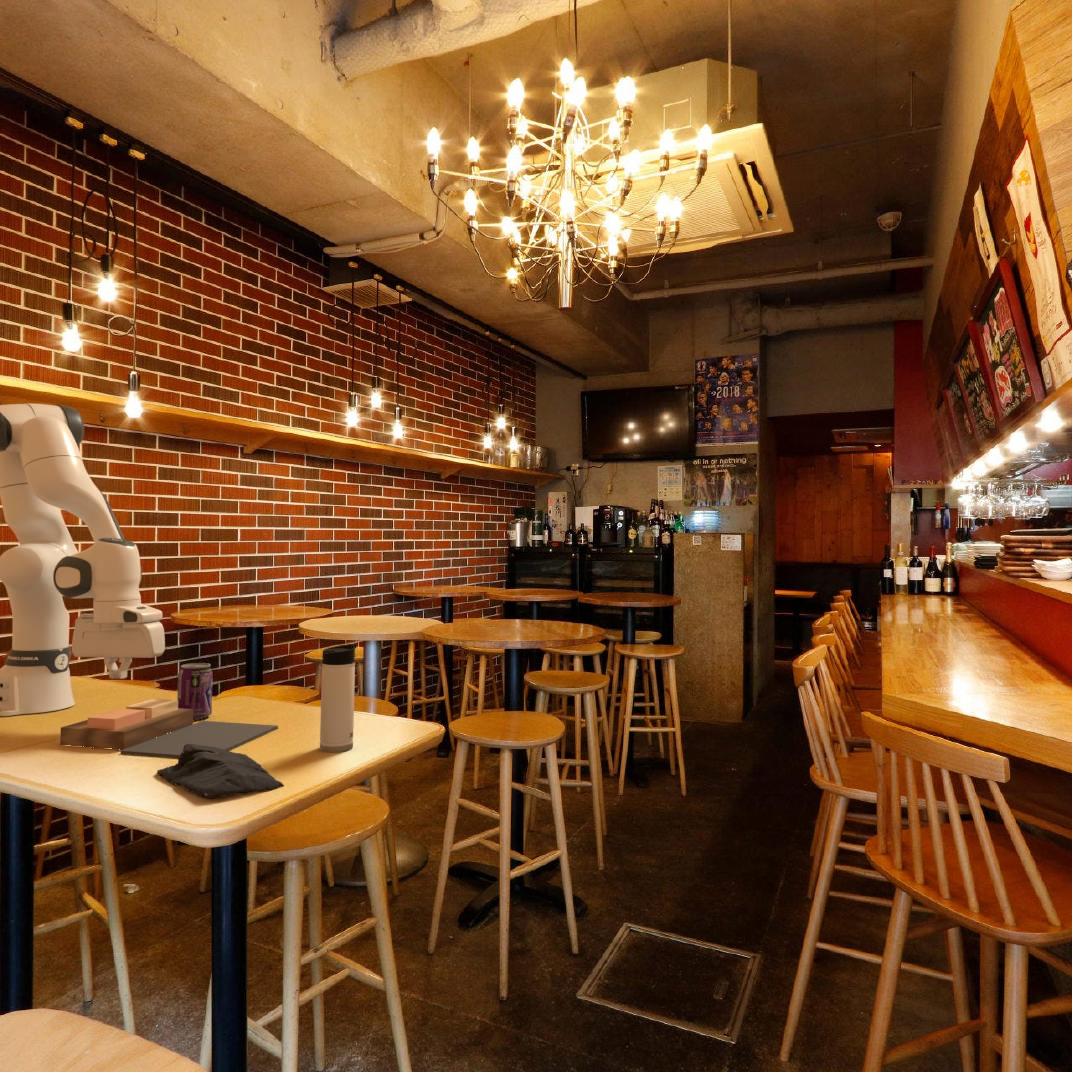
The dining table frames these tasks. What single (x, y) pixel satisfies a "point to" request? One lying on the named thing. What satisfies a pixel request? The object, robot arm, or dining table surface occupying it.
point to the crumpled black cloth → (218, 772)
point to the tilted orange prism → (116, 719)
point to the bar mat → (201, 738)
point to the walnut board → (125, 731)
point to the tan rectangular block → (155, 707)
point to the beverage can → (195, 689)
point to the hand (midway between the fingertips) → (118, 678)
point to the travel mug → (337, 698)
